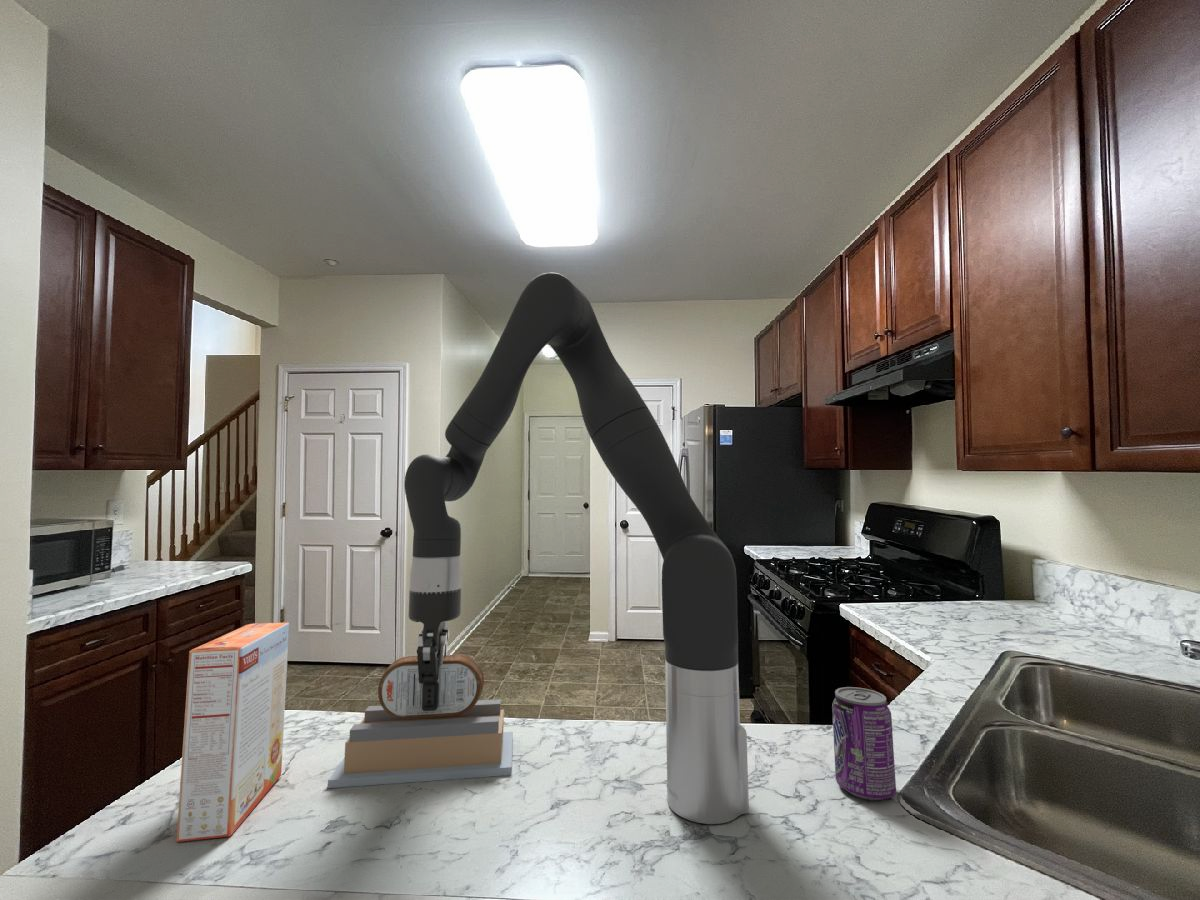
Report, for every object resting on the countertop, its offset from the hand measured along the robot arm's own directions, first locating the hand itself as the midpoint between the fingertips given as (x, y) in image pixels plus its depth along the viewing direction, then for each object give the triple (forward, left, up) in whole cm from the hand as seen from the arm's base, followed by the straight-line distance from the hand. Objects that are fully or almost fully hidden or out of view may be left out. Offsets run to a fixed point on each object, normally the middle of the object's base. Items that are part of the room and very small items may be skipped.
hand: (431, 705), depth 78 cm
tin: (0, 0, -2) cm, 2 cm away
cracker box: (+22, +9, -8) cm, 25 cm away
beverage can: (-58, +17, -8) cm, 61 cm away
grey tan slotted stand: (0, 0, -8) cm, 8 cm away
